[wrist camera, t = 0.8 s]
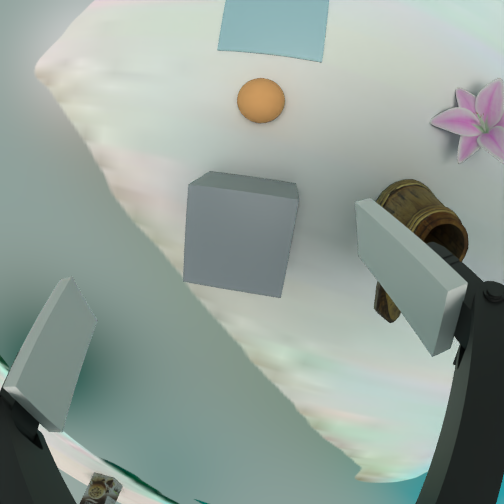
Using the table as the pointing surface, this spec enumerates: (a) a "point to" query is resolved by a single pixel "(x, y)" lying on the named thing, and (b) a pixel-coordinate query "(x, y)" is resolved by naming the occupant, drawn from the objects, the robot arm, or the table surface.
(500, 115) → the lily
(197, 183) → the matte grey cube
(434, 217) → the wooden mug
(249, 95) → the ball
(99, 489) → the coffee box
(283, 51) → the tape square
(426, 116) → the table surface
